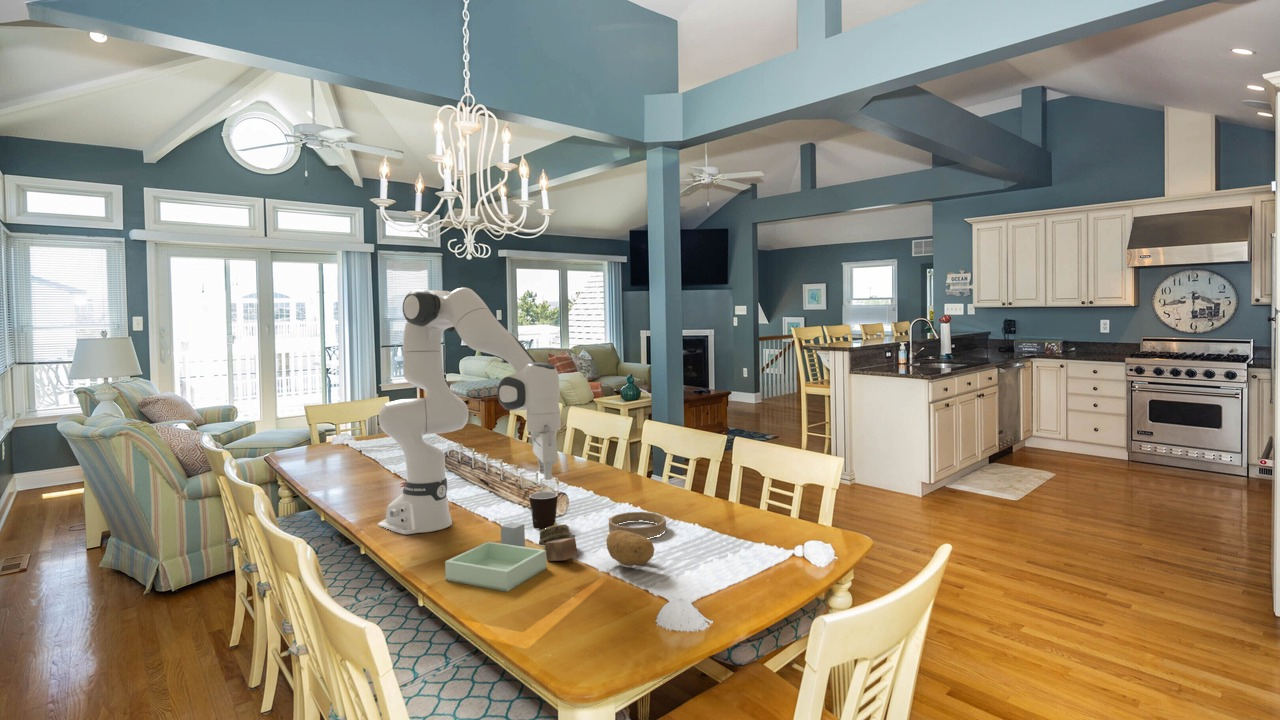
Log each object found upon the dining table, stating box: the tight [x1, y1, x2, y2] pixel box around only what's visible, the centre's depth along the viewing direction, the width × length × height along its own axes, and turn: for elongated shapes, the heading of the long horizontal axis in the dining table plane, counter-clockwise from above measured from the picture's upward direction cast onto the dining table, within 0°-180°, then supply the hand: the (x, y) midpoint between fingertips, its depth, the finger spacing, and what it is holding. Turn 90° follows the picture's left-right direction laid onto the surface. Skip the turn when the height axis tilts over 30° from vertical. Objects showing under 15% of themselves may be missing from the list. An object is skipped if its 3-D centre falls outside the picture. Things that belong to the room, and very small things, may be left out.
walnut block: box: [544, 537, 579, 562], centre depth 165 cm, size 4×4×7 cm
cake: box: [538, 521, 576, 547], centre depth 174 cm, size 10×10×5 cm
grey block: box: [500, 521, 526, 547], centre depth 173 cm, size 4×4×7 cm
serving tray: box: [444, 541, 548, 593], centre depth 156 cm, size 18×16×5 cm
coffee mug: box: [528, 491, 559, 530], centre depth 195 cm, size 12×9×10 cm
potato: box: [605, 530, 655, 567], centre depth 161 cm, size 10×14×8 cm
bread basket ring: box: [608, 511, 667, 538], centre depth 189 cm, size 17×17×4 cm
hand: (545, 476), depth 168 cm, fingers open, 8 cm apart
